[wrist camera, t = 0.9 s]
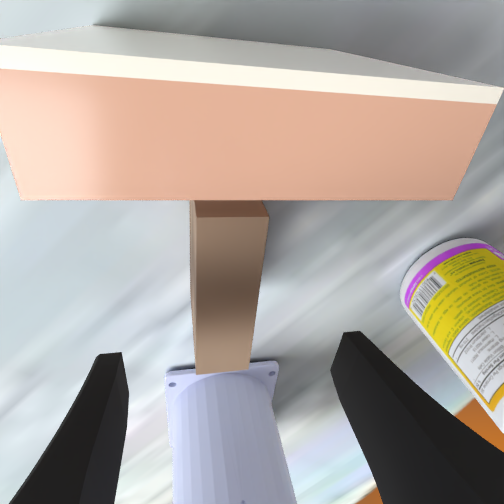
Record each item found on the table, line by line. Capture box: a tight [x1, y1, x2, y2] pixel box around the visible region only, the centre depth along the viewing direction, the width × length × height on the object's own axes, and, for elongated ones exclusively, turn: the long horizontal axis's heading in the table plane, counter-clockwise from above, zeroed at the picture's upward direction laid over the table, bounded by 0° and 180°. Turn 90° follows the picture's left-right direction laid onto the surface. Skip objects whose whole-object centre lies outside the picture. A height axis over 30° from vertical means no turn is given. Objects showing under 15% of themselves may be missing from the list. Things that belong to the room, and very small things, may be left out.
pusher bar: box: [190, 200, 269, 375], centre depth 16 cm, size 8×2×6 cm, turn 175°
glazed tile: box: [0, 25, 504, 200], centre depth 10 cm, size 2×9×9 cm, turn 85°
